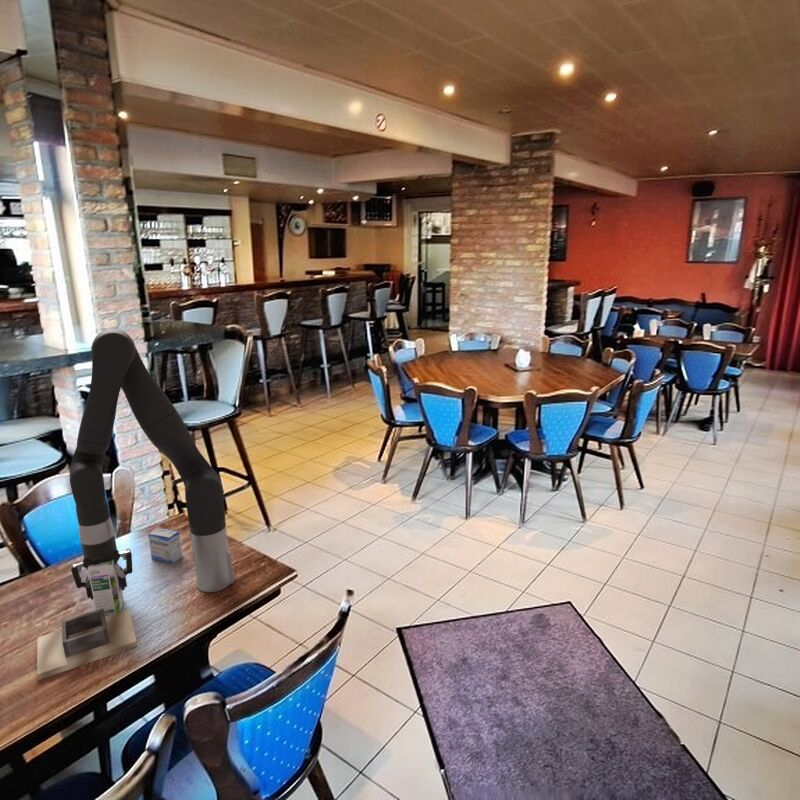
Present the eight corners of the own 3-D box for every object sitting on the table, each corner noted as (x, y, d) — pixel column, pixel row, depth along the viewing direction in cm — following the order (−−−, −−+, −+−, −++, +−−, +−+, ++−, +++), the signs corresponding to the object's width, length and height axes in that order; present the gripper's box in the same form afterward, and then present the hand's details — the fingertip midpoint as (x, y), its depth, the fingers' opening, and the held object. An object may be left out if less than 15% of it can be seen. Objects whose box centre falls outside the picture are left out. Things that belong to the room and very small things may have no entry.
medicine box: (151, 559, 169) (147, 534, 167) (161, 552, 173) (157, 527, 171) (173, 563, 167) (169, 537, 164) (183, 556, 171) (179, 530, 169)
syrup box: (96, 618, 143) (86, 568, 139) (101, 604, 149) (92, 555, 145) (120, 613, 145) (111, 564, 141) (124, 600, 150) (116, 552, 146)
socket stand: (129, 614, 145) (126, 595, 143) (137, 646, 133) (134, 626, 132) (38, 642, 135) (34, 623, 133) (38, 680, 123) (33, 659, 122)
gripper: (127, 522, 147) (136, 577, 152) (63, 537, 140) (75, 594, 145) (130, 534, 141) (140, 591, 146) (64, 550, 134) (76, 610, 139)
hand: (107, 593), depth 145 cm, fingers closed on syrup box, 6 cm apart
